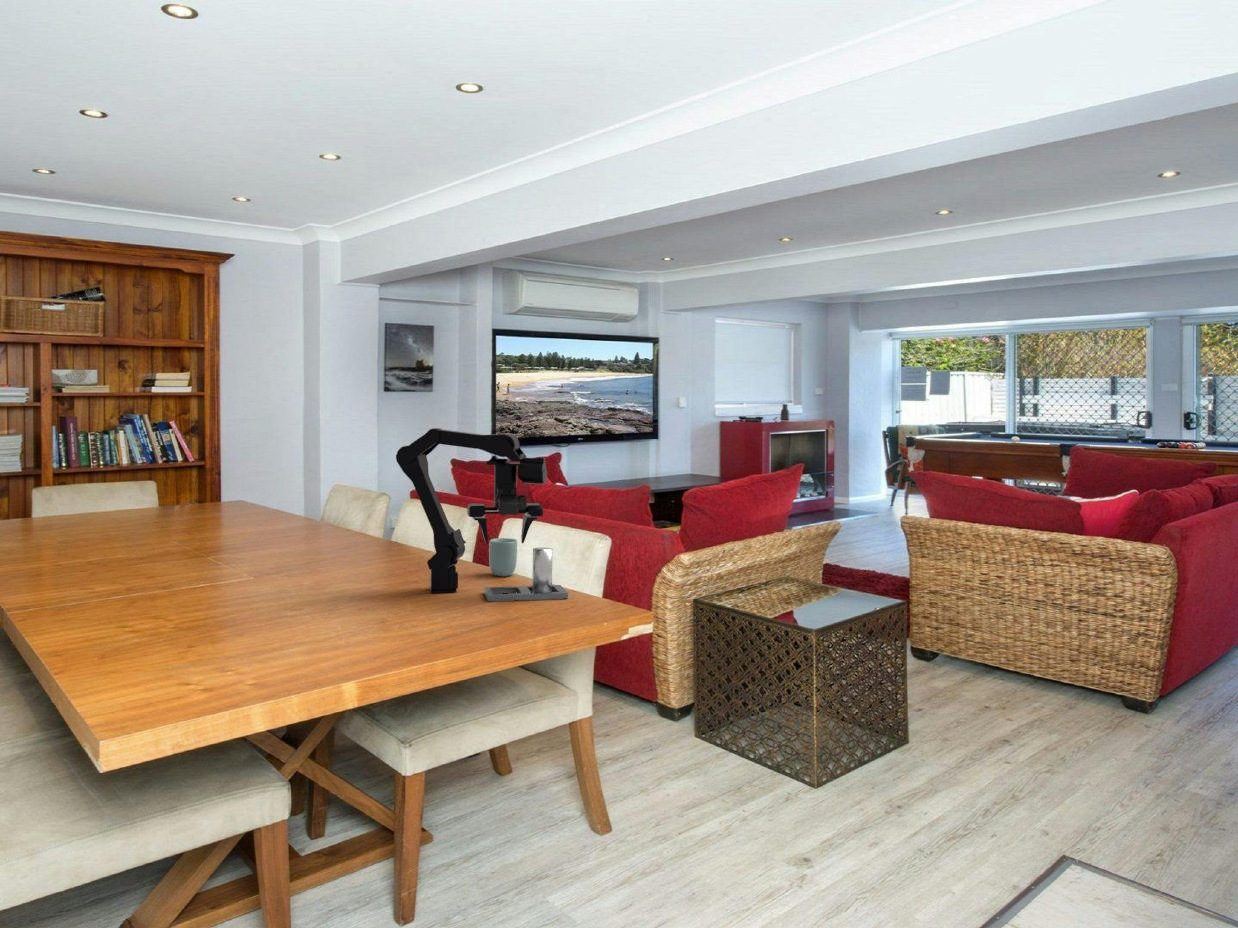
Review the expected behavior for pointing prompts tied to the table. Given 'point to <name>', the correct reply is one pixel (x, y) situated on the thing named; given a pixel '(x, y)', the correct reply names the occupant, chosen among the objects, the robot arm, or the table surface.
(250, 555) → the table surface
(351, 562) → the table surface
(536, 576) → the peg
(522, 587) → the grey divided tray
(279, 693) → the table surface
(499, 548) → the cup
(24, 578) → the table surface
